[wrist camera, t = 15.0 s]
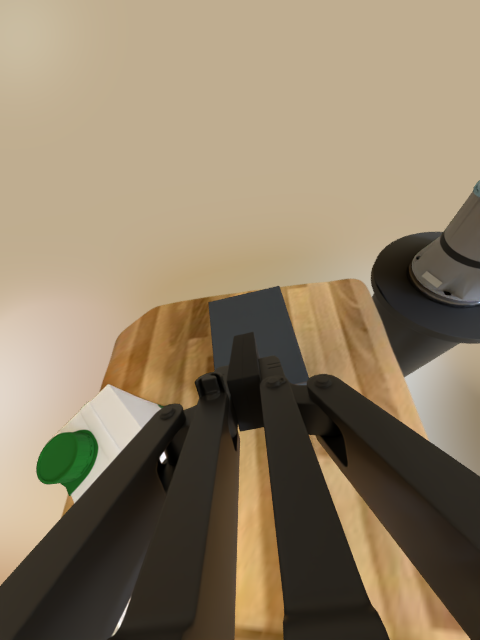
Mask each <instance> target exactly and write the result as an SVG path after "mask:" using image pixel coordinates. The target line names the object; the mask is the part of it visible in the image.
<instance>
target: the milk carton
mask: <svg viewBox="0 0 480 640" xmlns="http://www.w3.org/2000/svg"><path fill="white" fill-rule="evenodd" d="M163 407H164V406H161V405H158V404H156V403H153V402H150V401H147V400H144V399H142V398H139V397H137V396H134V395H132V394H130V393H127V392H125V391H123V390H121V389H118V388H116V387H114V386H112V385H109V384H108V385H107V386H106V387H105V388H104V389H103V390H101V391H100V392H99V393H98V394H97V395H96V396H95V398H93V399H92V400H91V401H90V402H87V403H86V404H85V405H84V406H83V407H82V408H81V409H80V411H79V412H78V413H77V414H76V415H75V416H74V417H73V418H72V419H71V420H70V421H69V422H67V423H66V424H65V426H64V427H62V428H61V429H60V430H59V432H57V434H56V435H54V437H52V438H51V439H50V440H49V441H48V443H47V444H46V446H45V447H44V448H43V450H42V452H41V454H40V456H39V459H38V462H37V468H36V469H37V476H38V479H39V480H40V481H41V482H42V483H44V484H57V483H61V484H62V485H63V486H65V487H66V489H67V492H68V494H69V496H72V498H73V501H74V503H75V502H76V501H77V500H78V499H79V498H80V497H81V496H82V494H83V493H84V492H85V491H86V490H87V489H88V488H89V487H90V486H91V484H92V483H93V482H94V481H95V480H96V479H97V478H98V477H99V476H100V474H101V473H102V472H103V471H104V470H105V469H106V468H107V467H108V466H109V464H110V463H111V462H112V461H113V460H114V459H115V458H116V457H117V456H118V454H119V453H120V452H121V451H122V450H123V449H124V448H125V447H126V446H127V444H128V443H129V442H130V441H131V440H132V439H133V438H134V437H135V435H136V434H137V433H138V432H139V431H140V430H141V429H142V428H143V427H144V425H145V424H146V423H147V422H148V421H149V420H150V419H151V418H152V417H153V415H154V414H155V413H156V412H158V411H159V410H160V409H162V408H163ZM165 459H166V456H165V453H164V452H163V454H162V455H161V457H160V461H161V463H162V462H163V461H164V460H165Z"/></svg>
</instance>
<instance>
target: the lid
mask: <svg viewBox="0 0 480 640" xmlns="http://www.w3.org/2000/svg"><path fill="white" fill-rule="evenodd" d="M209 314H210V324H211V335H212V346H213V357H214V368H215V370H216V369H217V368H218V367H222V366H227V365H229V362H230V356H231V350H232V344H233V338H234V336H236V335H241V334H245V333H250V332H254V335H255V340H256V344H257V348H258V353H259V357H260V358H263V357H268V356H273V355H275V356H276V357H278V358H279V360H280V363H281V366H282V368H283V371H284V374H285V377H286V378H287V379H288V381H289V382H290V383H292V384H295V385H299V384H305V383H307V380H308V379H309V377H308V374H307V371H306V368H305V365H304V362H303V358H302V355H301V352H300V349H299V346H298V343H297V340H296V337H295V333H294V330H293V327H292V324H291V321H290V318H289V315H288V312H287V308H286V305H285V302H284V299H283V296H282V293H281V290H280V287H279V286H277V287H273V288H269V289H264V290H259V291H255V292H251V293H247V294H242V295H238V296H234V297H229V298H225V299H221V300H217V301H212V302H209Z"/></svg>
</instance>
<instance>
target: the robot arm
mask: <svg viewBox="0 0 480 640" xmlns="http://www.w3.org/2000/svg"><path fill="white" fill-rule="evenodd" d="M407 277H408V280H409V282H410V284H411V285H412V287H413V288H414V289H415V290H416V291H417V292H418V293H419V294H421V295H422V296H424V297H425V298H427V299H429V300H431V301H433V302H435V303H438V304H441V305H444V306H448V307H455V308H472V307H477V306H480V181H478V182H477V184H476V185H475V187H474V190H473V192H472V193H471V195H470V196H469V198H468V199H467V200H466V202H465V203H464V204H463V206H462V207H461V209H460V210H459V211H458V213H457V214H456V216H455V217H454V218H453V220H452V221H451V222H450V224H449V225H448V226H447V228H446V229H445V231H444V232H443V233H442V235H441V236H440V237H438V238H437V239H436V240H434V241H433V242H432V243H430V244H429V245H427V246H426V247H425V248H423V249H422V250H421V251H419V252H418V253H417V254H416V255H415V256H414V257H413V259H412V260H411V262H410V263H409V265H408V268H407ZM195 385H196V388H197V391H198V395H199V401H198V404H197V405H196V406H193V407H191V408H189V409H186V410H183V407H182V406H181V405H180V404H170V405H168V406H164V407H163V408H162V409H160V410H159V411H158V412H156V413H155V414H154V415H153V417H152V418H151V419H150V420H149V421H148V422H147V423H146V424H145V425H144V427H143V428H142V429H141V430H140V431H139V432H138V433H137V434H136V435H135V437H134V438H133V439H132V440H131V441H130V442H129V443H128V444H127V446H126V447H125V448H124V449H123V450H122V451H121V452H120V453H119V454H118V456H117V457H116V458H115V459H114V460H113V461H112V462H111V463H110V464H109V466H108V467H107V468H106V469H105V470H104V471H103V472H102V473H101V474H100V476H99V477H98V478H97V479H96V480H95V481H94V482H93V483H92V484H91V486H90V487H89V488H88V489H87V490H86V491H85V492H84V493H83V494H82V496H81V497H80V498H79V499H78V500H77V501H76V502H75V503H74V504H73V506H72V507H71V508H70V509H69V510H68V511H67V512H66V513H65V515H64V516H63V517H62V518H61V519H60V520H59V521H58V522H57V523H56V525H55V526H54V527H53V528H52V529H51V530H50V531H49V532H48V533H47V535H46V536H45V537H44V538H43V539H42V540H41V541H40V542H39V544H38V545H37V546H36V547H35V548H34V549H33V550H32V551H31V552H30V553H29V555H28V556H27V557H26V558H25V559H24V560H23V561H22V562H21V563H20V565H19V566H18V567H17V568H16V569H15V570H14V572H12V574H11V575H10V576H9V577H8V578H7V579H6V580H5V581H4V582H3V584H2V585H1V586H0V640H234V633H235V598H236V562H237V527H238V492H239V456H240V438H239V434H238V425H239V429H240V431H245V430H250V429H256V428H261V427H264V430H265V438H266V447H267V456H268V465H269V474H270V483H271V492H272V501H273V510H274V519H275V528H276V537H277V546H278V555H279V564H280V573H281V582H282V591H283V600H284V620H283V634H284V640H390V639H389V637H388V634H387V632H386V629H385V627H384V625H383V623H382V621H381V618H380V616H379V614H378V612H377V611H376V610H375V608H374V607H373V606H372V604H371V602H370V600H369V598H368V595H367V593H366V590H365V588H364V585H363V582H362V580H361V577H360V574H359V572H358V569H357V566H356V563H355V561H354V558H353V555H352V552H351V550H350V547H349V544H348V542H347V539H346V536H345V533H344V531H343V528H342V525H341V522H340V520H339V517H338V514H337V512H336V509H335V506H334V503H333V501H332V498H331V495H330V492H329V490H328V487H327V484H326V482H325V479H324V476H323V473H322V471H321V468H320V465H319V462H318V460H317V457H316V454H315V452H314V449H313V446H312V443H311V441H310V438H309V435H316V438H317V440H318V441H319V443H320V444H321V445H322V446H323V448H324V449H325V450H326V452H327V453H328V454H329V456H330V457H331V458H332V459H333V461H334V462H335V463H336V465H337V466H338V467H339V469H340V470H341V471H342V472H343V474H344V475H345V476H346V478H347V479H348V480H349V482H350V483H351V484H352V485H353V487H354V488H355V489H356V491H357V492H358V493H359V495H360V496H361V497H362V498H363V500H364V501H365V502H366V504H367V505H368V506H369V508H370V509H371V510H372V511H373V513H374V514H375V515H376V517H377V518H378V519H379V521H380V522H381V523H382V524H383V526H384V527H385V528H386V530H387V531H388V532H389V534H390V535H391V536H392V538H393V539H394V540H395V541H396V543H397V544H398V545H399V547H400V548H401V549H402V551H403V552H404V553H405V554H406V556H407V557H408V558H409V560H410V561H411V562H412V564H413V565H414V566H415V567H416V569H417V570H418V571H419V573H420V574H421V575H422V577H423V578H424V579H425V580H426V582H427V583H428V584H429V586H430V587H431V588H432V590H433V591H434V592H435V593H436V595H437V596H438V597H439V599H440V600H441V601H442V603H443V604H444V605H445V606H446V608H447V609H448V610H449V612H450V613H451V614H452V616H453V617H454V618H455V619H456V621H457V622H458V623H459V625H460V626H461V627H462V629H463V630H464V631H465V632H466V634H467V635H468V636H469V638H470V639H471V640H480V476H478V475H477V474H475V473H474V472H472V471H471V470H470V469H468V468H467V467H465V466H464V465H462V464H461V463H459V462H458V461H457V460H455V459H454V458H452V457H451V456H449V455H448V454H447V453H445V452H444V451H442V450H441V449H439V448H438V447H436V446H435V445H434V444H432V443H431V442H429V441H428V440H426V439H425V438H423V437H422V436H421V435H419V434H418V433H416V432H415V431H413V430H412V429H410V428H409V427H408V426H406V425H405V424H403V423H402V422H400V421H399V420H397V419H396V418H395V417H393V416H392V415H390V414H389V413H387V412H386V411H384V410H383V409H382V408H380V407H379V406H377V405H376V404H374V403H373V402H371V401H370V400H369V399H367V398H366V397H364V396H363V395H361V394H360V393H358V392H357V391H356V390H354V389H353V388H351V387H350V386H348V385H347V384H345V383H344V382H343V381H341V380H340V379H338V378H337V377H335V376H332V375H327V374H319V375H315V376H313V377H311V378H309V379H308V380H307V385H295V384H292V383H290V382H289V381H288V379H287V378H286V377H285V374H284V371H283V368H282V366H281V363H280V360H279V358H278V357H276V356H275V355H273V356H268V357H263V358H260V357H259V353H258V348H257V344H256V340H255V335H254V332H250V333H245V334H241V335H236V336H234V338H233V344H232V350H231V356H230V362H229V365H227V366H222V367H218V368H217V369H216V370H215V371H214V372H211V373H207V374H204V375H202V376H200V377H199V378H198V379H197V380H196V381H195ZM308 434H309V435H308ZM163 452H164V453H165V456H166V459H165V460H164V461H163V462H162V463H161V461H160V457H161V455H162V454H163ZM130 598H131V599H130ZM129 600H130V602H129ZM128 602H129V605H128V608H127V610H126V613H125V616H124V618H123V621H122V623H121V626H120V627H119V629H118V630H117V632H116V633H115V634H114V635H113V632H114V630H115V628H116V626H117V624H118V622H119V620H120V618H121V616H122V614H123V612H124V610H125V608H126V606H127V604H128ZM112 635H113V636H112Z"/></svg>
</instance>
